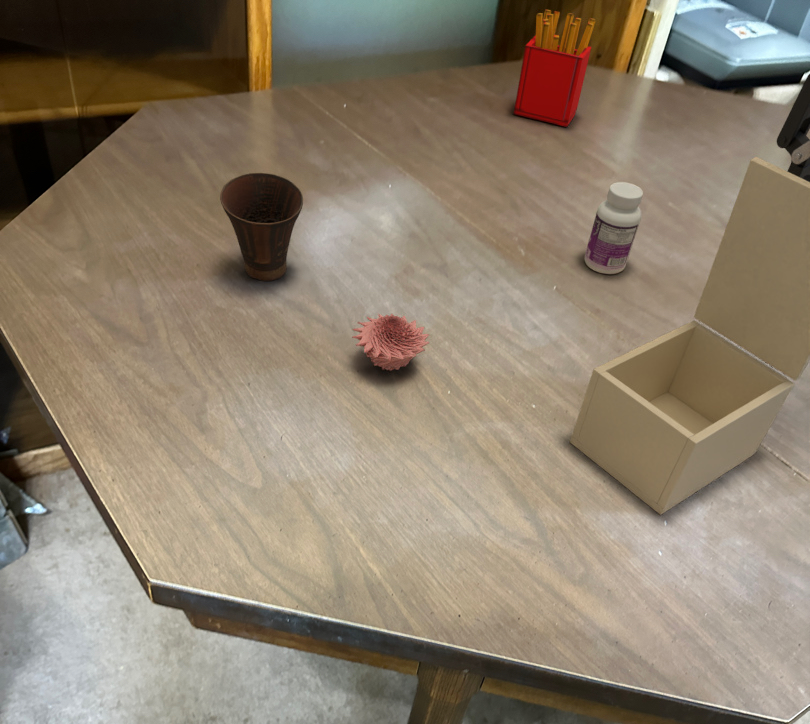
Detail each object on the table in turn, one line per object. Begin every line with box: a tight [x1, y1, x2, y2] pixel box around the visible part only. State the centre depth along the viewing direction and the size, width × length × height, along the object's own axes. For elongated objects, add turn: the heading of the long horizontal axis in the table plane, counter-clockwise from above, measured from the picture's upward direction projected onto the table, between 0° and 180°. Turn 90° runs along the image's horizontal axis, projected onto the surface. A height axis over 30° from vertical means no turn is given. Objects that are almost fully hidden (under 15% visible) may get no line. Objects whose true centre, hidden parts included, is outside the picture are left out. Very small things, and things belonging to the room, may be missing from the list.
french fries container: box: [513, 9, 597, 128], centre depth 123 cm, size 7×9×14 cm
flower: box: [351, 313, 430, 372], centre depth 79 cm, size 8×8×6 cm
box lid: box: [693, 156, 810, 382], centre depth 67 cm, size 15×12×6 cm
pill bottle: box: [584, 181, 644, 275], centre depth 94 cm, size 5×5×10 cm
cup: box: [219, 172, 304, 282], centre depth 86 cm, size 9×9×10 cm
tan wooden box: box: [569, 320, 796, 516], centre depth 72 cm, size 15×12×9 cm
